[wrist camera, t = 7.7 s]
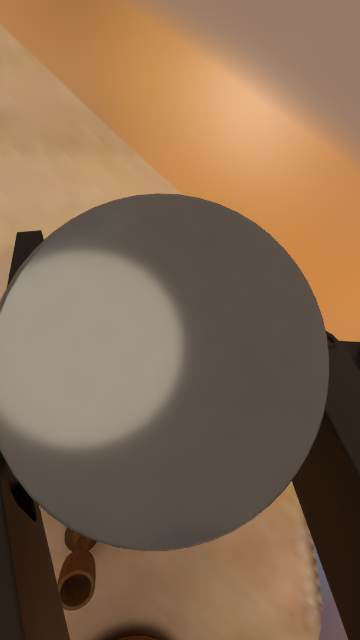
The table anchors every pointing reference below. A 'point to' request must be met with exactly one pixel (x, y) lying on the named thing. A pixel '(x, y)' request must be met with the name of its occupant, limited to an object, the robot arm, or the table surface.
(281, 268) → the spice jar
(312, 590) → the table surface
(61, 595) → the place setting
